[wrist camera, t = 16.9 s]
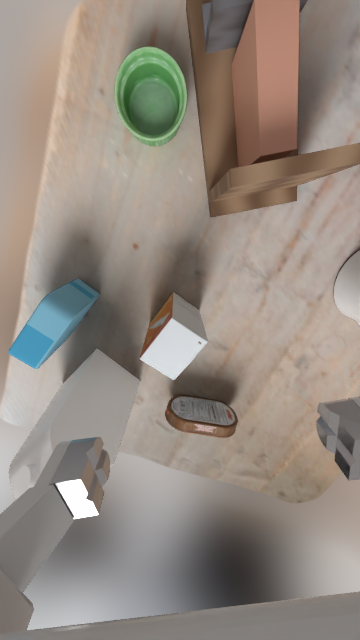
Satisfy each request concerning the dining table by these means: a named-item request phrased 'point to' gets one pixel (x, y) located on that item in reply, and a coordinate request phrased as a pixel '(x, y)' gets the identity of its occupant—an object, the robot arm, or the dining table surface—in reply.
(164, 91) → the ramekin
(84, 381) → the milk
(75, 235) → the dining table surface
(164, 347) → the small box
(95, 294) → the data package
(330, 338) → the dining table surface
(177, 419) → the tin
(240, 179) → the shelf stand
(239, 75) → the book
